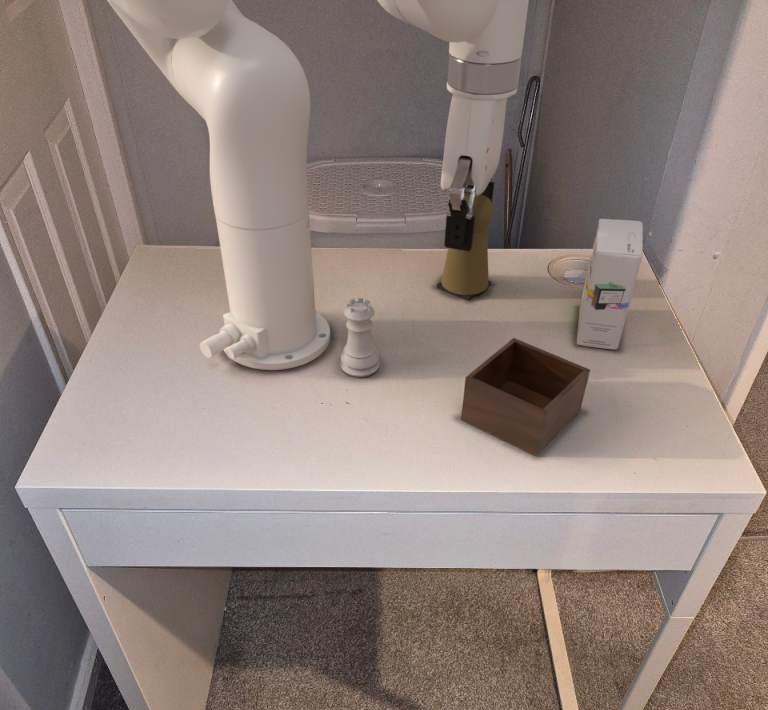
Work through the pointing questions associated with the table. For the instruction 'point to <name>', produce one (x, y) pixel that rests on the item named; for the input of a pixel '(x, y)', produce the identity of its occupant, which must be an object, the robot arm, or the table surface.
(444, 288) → the rubber pad
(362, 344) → the rook chess piece
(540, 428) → the walnut box
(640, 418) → the table surface
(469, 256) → the olive yellow pawn
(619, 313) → the ink box
